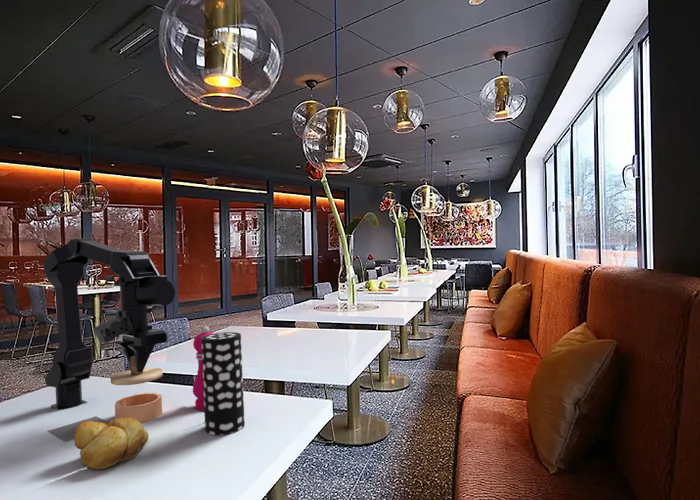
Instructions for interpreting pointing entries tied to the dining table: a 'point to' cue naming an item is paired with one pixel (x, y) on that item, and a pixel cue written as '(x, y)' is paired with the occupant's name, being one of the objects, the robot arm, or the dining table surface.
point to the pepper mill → (199, 370)
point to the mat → (72, 429)
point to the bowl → (139, 407)
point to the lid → (136, 375)
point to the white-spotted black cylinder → (223, 383)
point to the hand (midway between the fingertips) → (137, 371)
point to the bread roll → (109, 441)
